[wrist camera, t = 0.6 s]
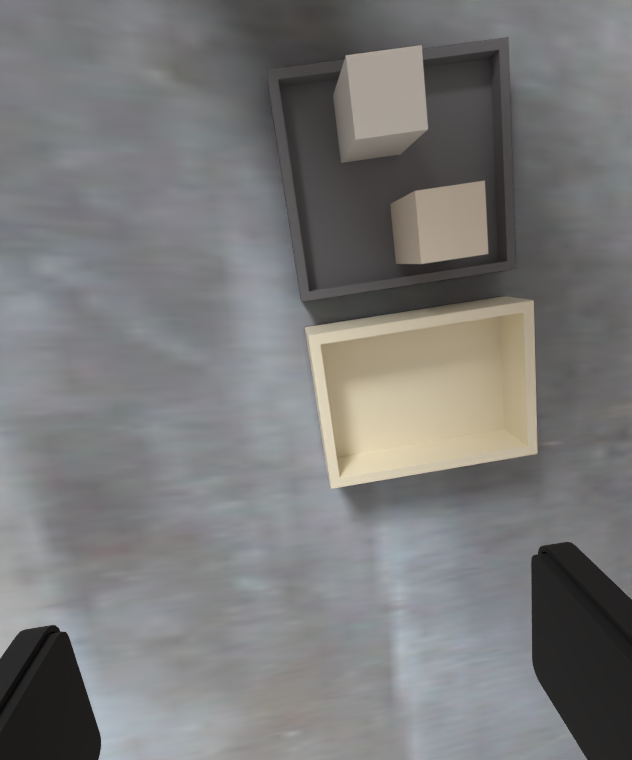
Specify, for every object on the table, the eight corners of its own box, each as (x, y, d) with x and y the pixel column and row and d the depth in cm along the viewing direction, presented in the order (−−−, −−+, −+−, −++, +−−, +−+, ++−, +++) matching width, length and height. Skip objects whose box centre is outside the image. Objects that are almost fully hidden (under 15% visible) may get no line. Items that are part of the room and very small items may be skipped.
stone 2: (390, 204, 32) (414, 190, 26) (447, 195, 32) (484, 180, 26) (395, 263, 33) (421, 264, 27) (451, 255, 33) (488, 253, 27)
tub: (304, 327, 34) (308, 335, 30) (505, 296, 34) (533, 300, 30) (325, 464, 37) (331, 488, 33) (510, 433, 37) (537, 453, 33)
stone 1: (332, 95, 30) (345, 55, 24) (394, 87, 30) (421, 45, 24) (341, 162, 31) (355, 139, 25) (400, 154, 31) (428, 129, 25)
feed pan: (267, 80, 30) (266, 69, 28) (495, 50, 30) (508, 37, 28) (300, 299, 33) (301, 301, 31) (503, 268, 34) (516, 268, 32)
